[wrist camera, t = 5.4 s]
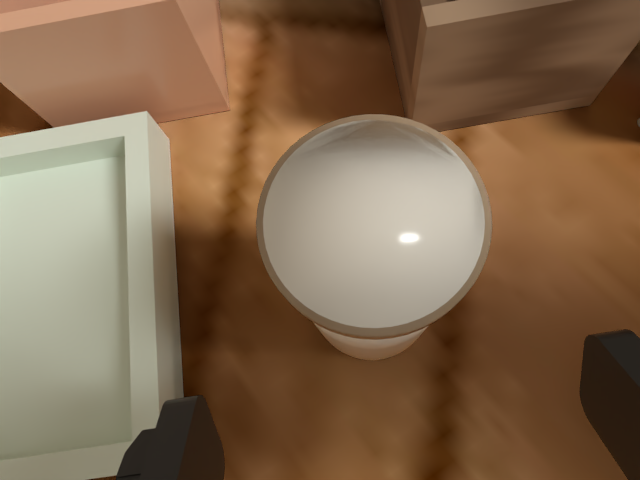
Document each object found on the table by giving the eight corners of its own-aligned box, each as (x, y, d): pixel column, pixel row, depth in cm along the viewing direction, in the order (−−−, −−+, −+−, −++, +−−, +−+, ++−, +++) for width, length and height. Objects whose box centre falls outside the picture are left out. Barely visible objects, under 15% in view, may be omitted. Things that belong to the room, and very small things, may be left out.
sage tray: (169, 139, 23) (146, 110, 21) (187, 459, 19) (161, 468, 17) (-33, 175, 24) (-78, 151, 22) (-60, 495, 20) (-119, 509, 17)
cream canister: (419, 231, 21) (461, 96, 12) (446, 353, 19) (520, 314, 10) (301, 250, 21) (245, 134, 12) (317, 373, 20) (269, 353, 10)
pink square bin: (216, -22, 26) (164, -165, 19) (229, 110, 24) (175, -2, 17) (69, 6, 26) (-31, -124, 20) (67, 139, 24) (-49, 41, 17)
